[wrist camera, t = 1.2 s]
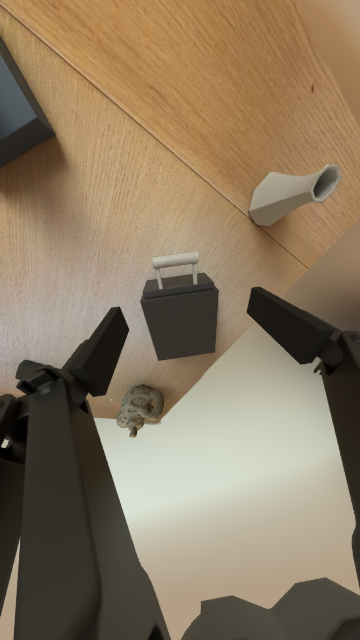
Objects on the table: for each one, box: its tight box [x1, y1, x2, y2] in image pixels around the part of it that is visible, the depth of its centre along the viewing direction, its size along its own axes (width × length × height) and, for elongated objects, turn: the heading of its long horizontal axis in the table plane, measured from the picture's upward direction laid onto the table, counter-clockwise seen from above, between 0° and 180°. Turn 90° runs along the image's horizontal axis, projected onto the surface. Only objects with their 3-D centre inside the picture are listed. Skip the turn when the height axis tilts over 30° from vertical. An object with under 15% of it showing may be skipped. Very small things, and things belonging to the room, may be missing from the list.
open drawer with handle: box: [143, 252, 214, 298], centre depth 28 cm, size 20×12×7 cm, turn 6°
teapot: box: [116, 385, 164, 437], centre depth 45 cm, size 21×12×15 cm, turn 128°
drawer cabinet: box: [140, 286, 219, 361], centre depth 30 cm, size 16×14×9 cm
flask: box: [248, 164, 341, 226], centre depth 19 cm, size 7×7×10 cm
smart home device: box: [15, 360, 60, 380], centre depth 43 cm, size 8×2×20 cm
